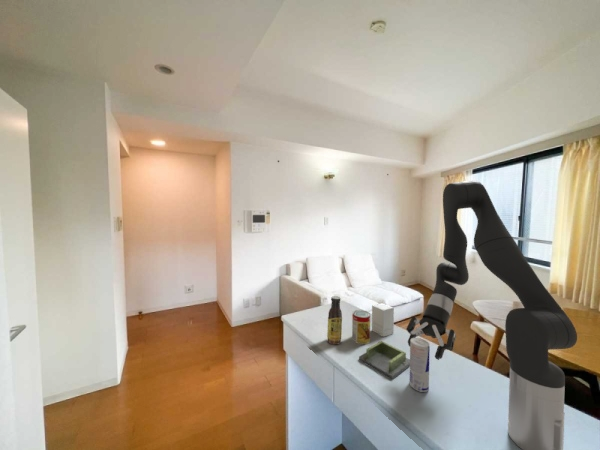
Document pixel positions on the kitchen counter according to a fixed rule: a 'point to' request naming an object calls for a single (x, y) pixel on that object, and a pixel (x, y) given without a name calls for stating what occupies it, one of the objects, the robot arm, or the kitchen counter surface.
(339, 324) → the sauce bottle
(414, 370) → the beverage can
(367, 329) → the canned food
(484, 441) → the kitchen counter surface
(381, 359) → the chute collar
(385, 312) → the supplement box
